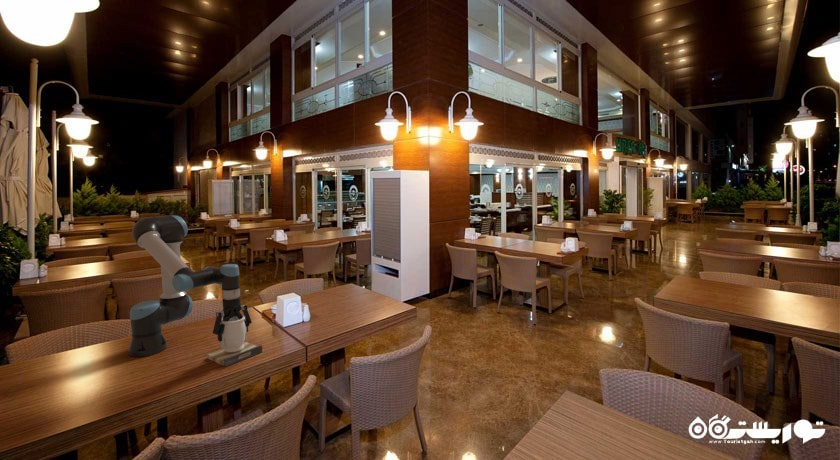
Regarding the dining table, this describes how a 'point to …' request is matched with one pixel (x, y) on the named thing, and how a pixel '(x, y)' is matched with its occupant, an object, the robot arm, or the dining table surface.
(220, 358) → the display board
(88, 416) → the dining table surface
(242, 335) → the jar
